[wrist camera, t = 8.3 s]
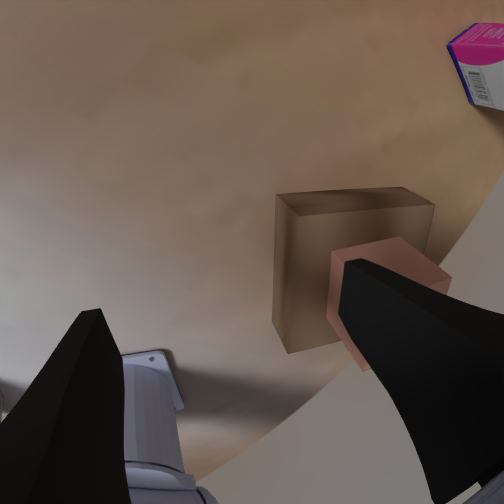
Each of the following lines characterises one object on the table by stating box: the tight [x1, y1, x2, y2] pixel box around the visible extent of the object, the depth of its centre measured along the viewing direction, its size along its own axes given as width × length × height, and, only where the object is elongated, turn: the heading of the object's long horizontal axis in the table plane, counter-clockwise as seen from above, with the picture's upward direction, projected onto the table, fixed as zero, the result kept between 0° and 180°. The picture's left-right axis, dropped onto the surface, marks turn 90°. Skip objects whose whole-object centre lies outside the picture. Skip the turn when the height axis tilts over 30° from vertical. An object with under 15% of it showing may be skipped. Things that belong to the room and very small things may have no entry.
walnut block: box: [272, 187, 435, 354], centre depth 21 cm, size 10×10×4 cm
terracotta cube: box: [326, 237, 452, 372], centre depth 17 cm, size 5×5×5 cm
